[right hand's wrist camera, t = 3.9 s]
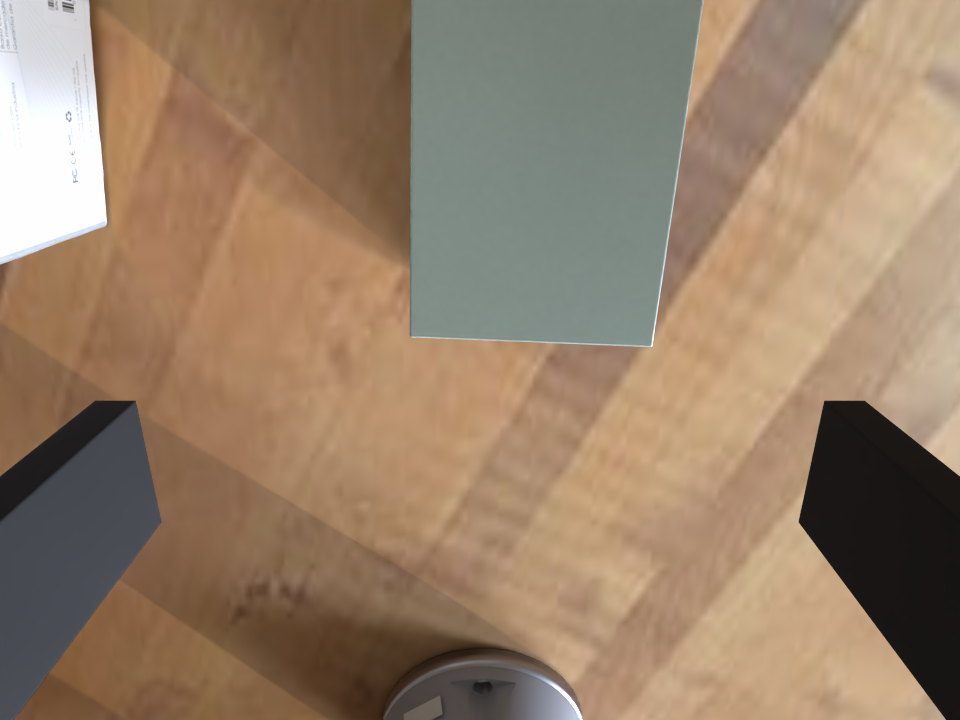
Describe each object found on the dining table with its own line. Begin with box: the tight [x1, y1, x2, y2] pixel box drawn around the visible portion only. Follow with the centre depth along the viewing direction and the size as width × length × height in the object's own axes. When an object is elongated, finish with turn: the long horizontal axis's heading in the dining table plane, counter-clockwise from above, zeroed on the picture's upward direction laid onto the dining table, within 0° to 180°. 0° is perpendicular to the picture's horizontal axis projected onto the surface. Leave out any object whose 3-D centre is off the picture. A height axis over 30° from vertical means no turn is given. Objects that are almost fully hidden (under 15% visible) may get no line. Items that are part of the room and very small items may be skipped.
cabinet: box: [410, 0, 704, 347], centre depth 30 cm, size 20×11×10 cm, turn 177°
